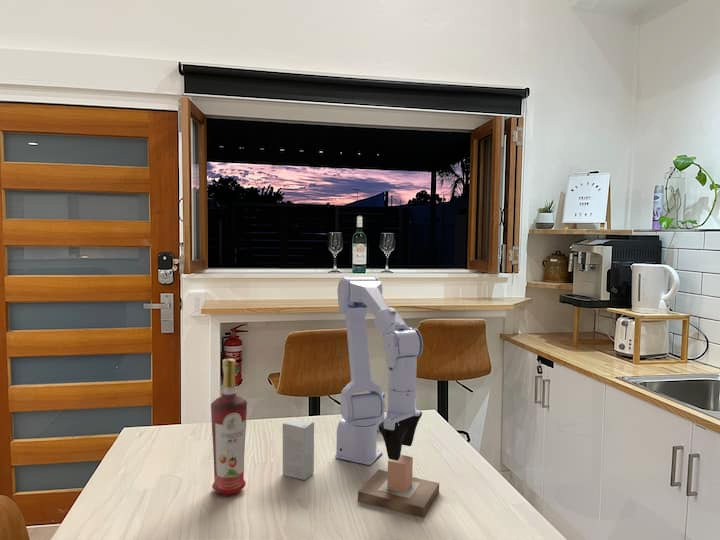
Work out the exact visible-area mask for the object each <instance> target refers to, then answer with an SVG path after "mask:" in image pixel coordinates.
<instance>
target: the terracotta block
mask: <svg viewBox="0 0 720 540" xmlns="http://www.w3.org/2000/svg"><path fill="white" fill-rule="evenodd" d="M413 463H414V457H413V456H409V455H405V454H400V458H399V460H398V461H397V460H392V459H389V458H388V460H387V471H388V480H387V489H390V490H394V491H398V492H402V493H406V492H407V491H408V489H409V488H410V487H411V485H412V477H413V468H414V467H413Z"/></svg>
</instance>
